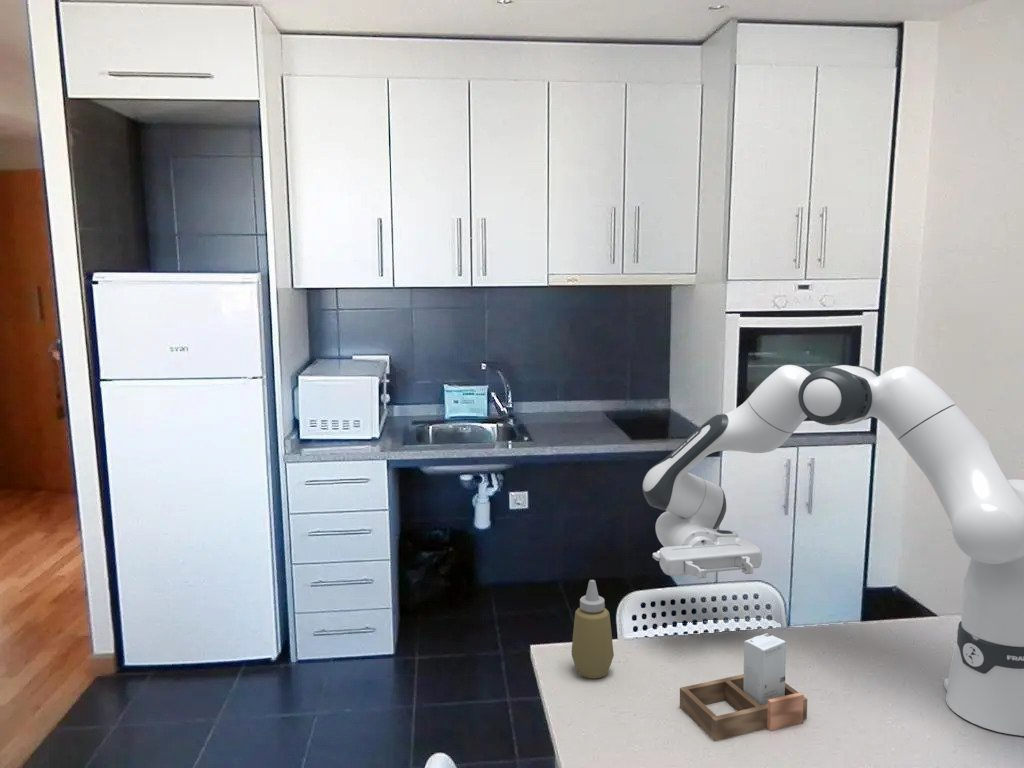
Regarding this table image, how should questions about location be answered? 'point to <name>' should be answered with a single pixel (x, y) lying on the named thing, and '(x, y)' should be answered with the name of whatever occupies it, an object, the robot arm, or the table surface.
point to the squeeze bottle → (592, 635)
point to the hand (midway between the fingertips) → (726, 572)
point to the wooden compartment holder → (740, 708)
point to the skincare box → (764, 668)
